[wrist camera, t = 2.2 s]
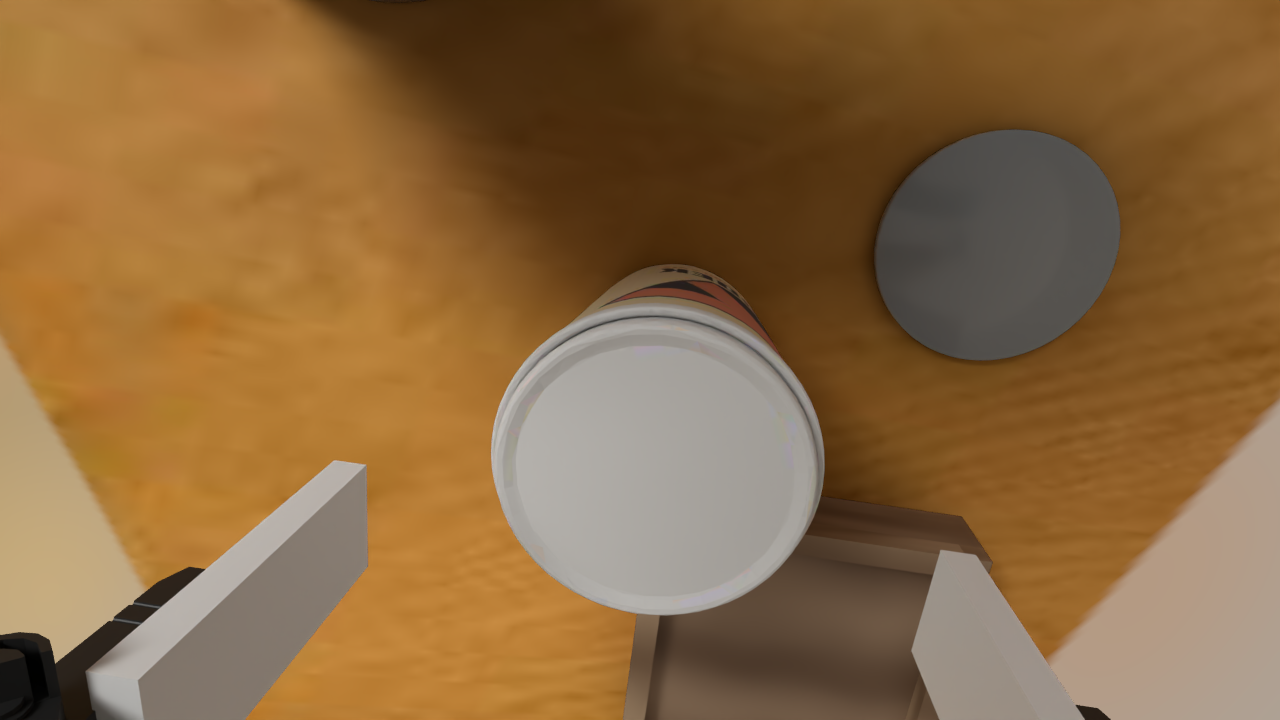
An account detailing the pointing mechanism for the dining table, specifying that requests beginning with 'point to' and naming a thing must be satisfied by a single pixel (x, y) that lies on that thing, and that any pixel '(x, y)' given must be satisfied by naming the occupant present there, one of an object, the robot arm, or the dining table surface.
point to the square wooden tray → (807, 628)
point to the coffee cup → (659, 448)
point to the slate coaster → (997, 244)
